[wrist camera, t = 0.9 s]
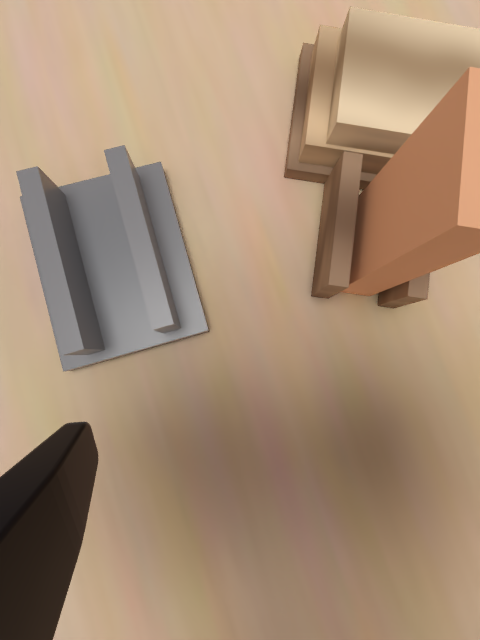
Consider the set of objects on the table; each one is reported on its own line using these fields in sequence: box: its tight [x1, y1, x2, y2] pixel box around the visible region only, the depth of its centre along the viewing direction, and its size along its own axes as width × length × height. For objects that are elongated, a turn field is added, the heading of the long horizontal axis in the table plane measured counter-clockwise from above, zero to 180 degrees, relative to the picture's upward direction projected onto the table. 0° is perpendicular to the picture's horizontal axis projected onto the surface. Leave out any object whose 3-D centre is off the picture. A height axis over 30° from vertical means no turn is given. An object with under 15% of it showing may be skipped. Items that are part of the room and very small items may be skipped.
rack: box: [284, 7, 480, 308], centre depth 20 cm, size 15×10×5 cm, turn 172°
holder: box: [16, 145, 209, 372], centre depth 19 cm, size 10×8×4 cm
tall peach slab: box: [341, 67, 480, 296], centre depth 16 cm, size 5×2×11 cm, turn 172°
